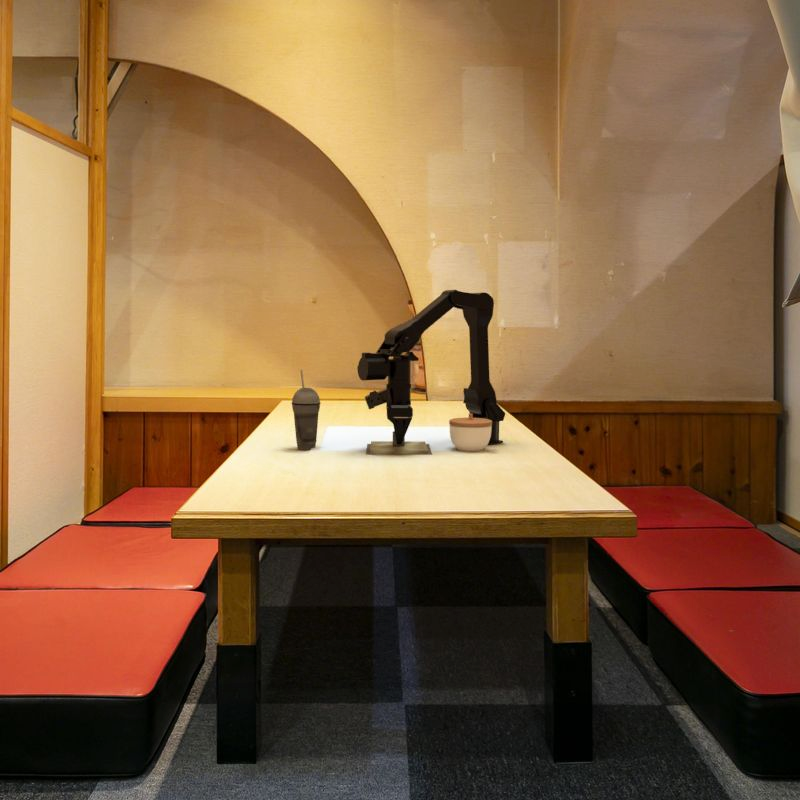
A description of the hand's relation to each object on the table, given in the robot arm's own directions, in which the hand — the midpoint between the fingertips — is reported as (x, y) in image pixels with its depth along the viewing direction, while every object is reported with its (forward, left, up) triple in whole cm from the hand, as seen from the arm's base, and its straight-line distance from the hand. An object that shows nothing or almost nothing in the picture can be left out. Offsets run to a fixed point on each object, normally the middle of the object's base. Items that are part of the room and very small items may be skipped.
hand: (398, 441), depth 191 cm
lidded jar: (-14, +11, -2) cm, 18 cm away
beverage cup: (+17, -16, -2) cm, 24 cm away
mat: (0, 0, -2) cm, 2 cm away
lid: (0, 0, -2) cm, 2 cm away
